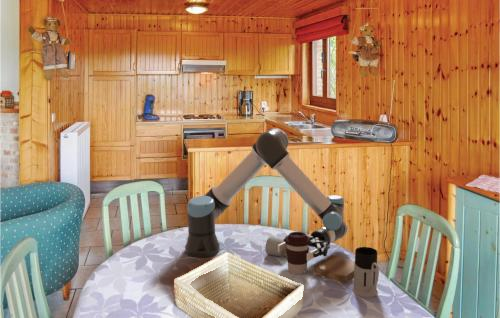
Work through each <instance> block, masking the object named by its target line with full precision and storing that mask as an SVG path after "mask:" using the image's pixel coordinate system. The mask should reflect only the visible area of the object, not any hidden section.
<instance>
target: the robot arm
mask: <svg viewBox="0 0 500 318" xmlns="http://www.w3.org/2000/svg"><path fill="white" fill-rule="evenodd" d="M288 146H289V138H288V135H287V134H286V132H285V131H284V130H282V129H280V128H276V127H274V128H269V129H267V130H266V131H265V132H263V133H261V134H260V135H259V136H258V138H257V139H256V141H255V142H254V143H253V144H252V146H251V149H252V150H251V151H250V152H249V153H248V155H246V157H244V159H243V160H241V162H240V163H239V164H238V165H237V166H236V167H235V168H234V169H233V170H232V171H231V172H230V173H229V174H228V175H227V176H226V177H225V178H224V179H223V180H222V181H221V183H219V184H218V185H213V186H212V187H211V188H210V189H208V191H207V192H206V193H205V194H204V195H199V196H195V197H193V198H191V199H189V201H188V202H187V208H186V211H187V228H188V235H187V239H186V244H185V246H184V253H185V252H186V253H185V254H186V255H187V254H188V255H187V256H189V257H194V258H207V257H211V256H214V255H217V254H218V253H219V252H220V243H219V240H218V237H217V235H216V220H217V219H218V218H219V217H220V216H221V215H222V214H223V213H225V211H226V210H227V209H228V208H229V207H230V206H231V205H232V202H233V201H232V199H233V198H234V197H235V196H236V195H237V194H238V193H240V191H241V190H242V189H243V188H244V187H245V186H246V185H247V184H248V183H249V182H250V181H251V180H252V179H253V178H254V177H255V176H257V174H258V173H260V171H261V170H262V169H263V168H264V167H265V166H266V165H267V166H268V167H269V168H270V169H271V170H276V172H277V174H279V175H280V176H281V177H282V178H283V179H284V181H286V182H287V184H288V185H289V186H290V187H291V188H292V189H293V190H294V192H296V194H297V195H298V196H299V197H300V198H301V199H302V200H303V201H304V202H305V203H306V205H308V206H309V208H311V210H312V211H313V212H314V213H315V215H317V216H318V217H319V219H320V220H321V221H322V224H323V226H322V227H321V228H318V229H317V230H314V231H312V232H311V234H310V235H308V237H310V244H309V247H311V248H315V249H313V250H311V251H309V253H307V261H308V262H309V261H311V260H313V259H315V258H317V257H321V256H323V257H326V258H327V257H328V251H329V249H330V248H331V243H335V242H336V241H338V240H340V239H342V238H343V237H345V236H346V234H347V233H348V227H347V224H346V222H344V212H345V211H344V210H345V202H344V201H345V198H344V197H343V196H340V195H335V194H334V195H328V196H326V195H325V194H324V193H323V192H322V191H321V190H320V189H319V188H318V187H317V185H316V184H315V183H314V182H313V181H312V180H311V179H310V178H309V177H308V175H306V174H305V173H304V171H303V169H301V168H300V167H299V166H298V164H296V163H295V162H294V160H293V159H292V158H291V156H290V152H289V151H288V150H287V148H288ZM283 240H284V242H283V243H281V244H279V245H278V252H281V251H283V250H285V249H286V246H287V245H286V243H285V237H284V238H283Z"/></svg>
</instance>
